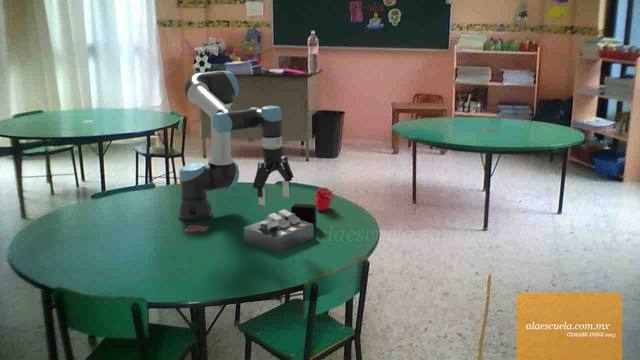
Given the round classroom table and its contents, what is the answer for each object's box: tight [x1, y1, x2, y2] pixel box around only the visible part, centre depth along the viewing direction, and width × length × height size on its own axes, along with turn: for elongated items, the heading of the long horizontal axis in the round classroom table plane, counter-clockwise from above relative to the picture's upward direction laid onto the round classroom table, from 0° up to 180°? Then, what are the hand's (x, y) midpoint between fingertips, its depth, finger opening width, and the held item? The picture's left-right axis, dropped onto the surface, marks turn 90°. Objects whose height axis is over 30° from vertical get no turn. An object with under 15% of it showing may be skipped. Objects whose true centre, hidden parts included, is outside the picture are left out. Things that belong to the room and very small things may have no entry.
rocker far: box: [277, 208, 300, 224], centre depth 258 cm, size 9×3×2 cm, turn 49°
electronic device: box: [290, 203, 317, 230], centre depth 267 cm, size 4×10×10 cm, turn 79°
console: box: [243, 213, 315, 254], centre depth 255 cm, size 19×21×9 cm
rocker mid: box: [267, 212, 290, 228], centre depth 254 cm, size 9×3×2 cm, turn 49°
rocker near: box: [257, 221, 279, 228], centre depth 249 cm, size 9×3×2 cm, turn 48°
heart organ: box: [314, 186, 336, 212], centre depth 291 cm, size 10×12×12 cm
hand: (274, 200), depth 244 cm, fingers open, 12 cm apart
